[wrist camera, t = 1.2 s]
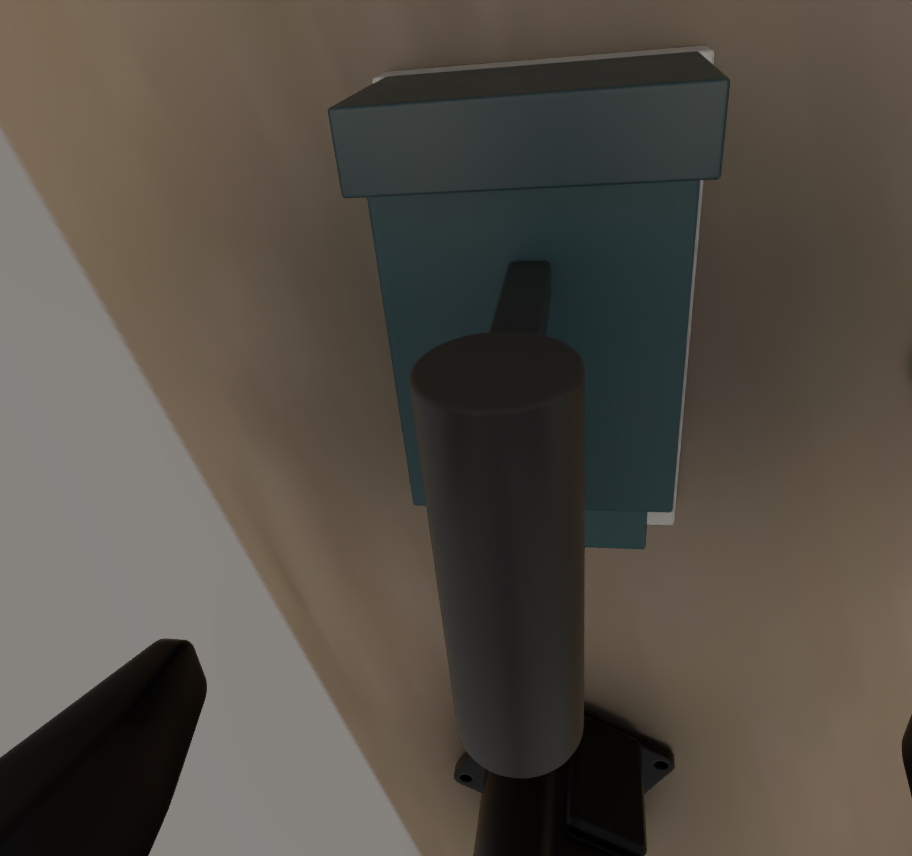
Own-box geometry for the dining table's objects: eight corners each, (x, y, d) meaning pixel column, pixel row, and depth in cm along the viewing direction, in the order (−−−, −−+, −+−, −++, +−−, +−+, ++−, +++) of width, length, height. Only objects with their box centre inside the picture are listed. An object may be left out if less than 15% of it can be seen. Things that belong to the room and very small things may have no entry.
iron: (671, 504, 21) (724, 886, 13) (437, 498, 23) (336, 841, 14) (708, 44, 15) (868, 162, 6) (381, 71, 16) (131, 201, 8)
